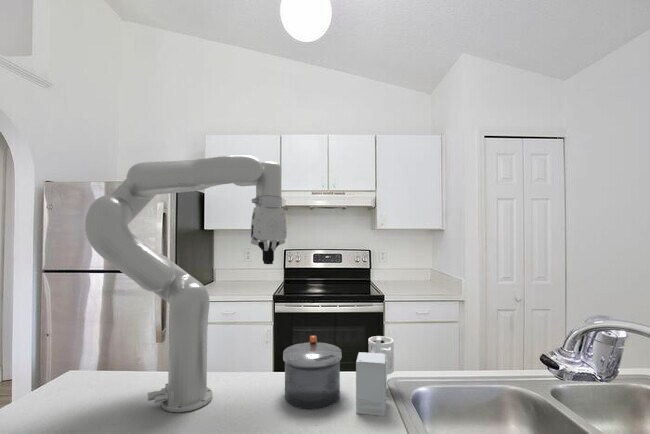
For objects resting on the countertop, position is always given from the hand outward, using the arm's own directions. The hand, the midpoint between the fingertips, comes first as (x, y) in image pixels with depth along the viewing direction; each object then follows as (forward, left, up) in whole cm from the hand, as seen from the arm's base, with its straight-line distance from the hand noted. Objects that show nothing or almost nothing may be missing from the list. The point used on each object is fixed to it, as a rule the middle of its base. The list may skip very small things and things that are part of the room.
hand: (268, 263), depth 102 cm
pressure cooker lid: (+7, -14, -25) cm, 29 cm away
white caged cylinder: (+25, -22, -35) cm, 49 cm away
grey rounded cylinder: (+7, -14, -35) cm, 38 cm away
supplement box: (+16, -28, -35) cm, 48 cm away
